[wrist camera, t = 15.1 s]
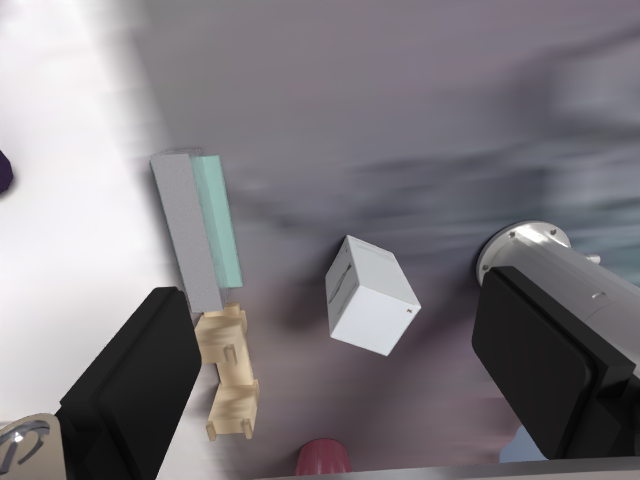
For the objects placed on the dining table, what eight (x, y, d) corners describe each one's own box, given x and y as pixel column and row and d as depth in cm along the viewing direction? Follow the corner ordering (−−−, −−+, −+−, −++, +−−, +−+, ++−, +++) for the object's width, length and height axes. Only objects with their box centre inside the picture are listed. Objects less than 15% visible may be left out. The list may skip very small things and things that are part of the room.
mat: (219, 155, 37) (218, 156, 36) (242, 284, 44) (241, 286, 44) (152, 159, 37) (149, 160, 36) (186, 287, 44) (184, 290, 44)
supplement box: (346, 232, 42) (360, 282, 30) (394, 252, 43) (425, 307, 32) (323, 276, 44) (327, 337, 33) (368, 294, 46) (388, 358, 34)
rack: (243, 302, 46) (230, 340, 38) (260, 398, 54) (253, 445, 46) (200, 304, 46) (179, 343, 38) (224, 400, 54) (211, 447, 46)
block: (166, 150, 36) (149, 155, 32) (200, 148, 36) (188, 153, 32) (202, 295, 44) (192, 312, 41) (230, 293, 44) (223, 310, 41)
